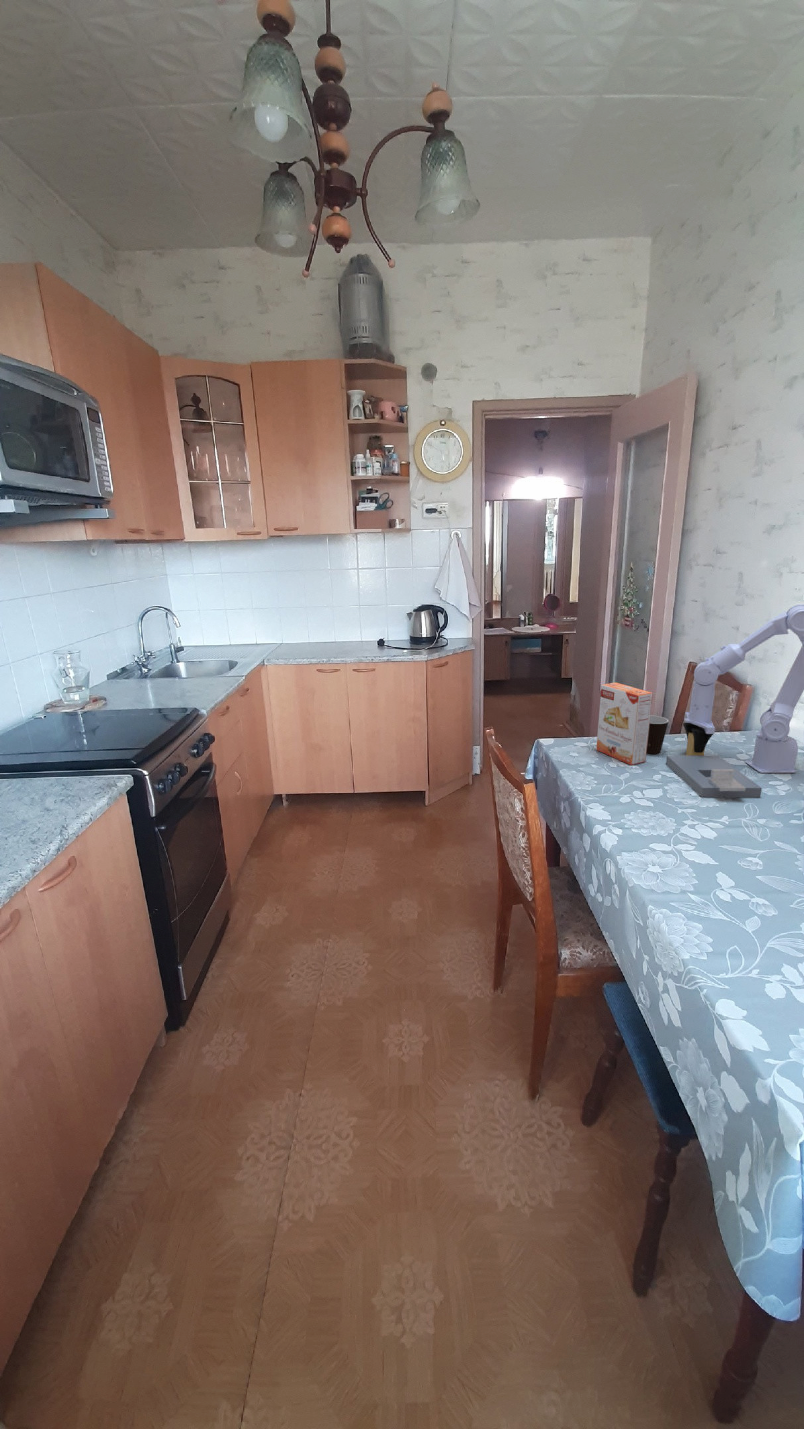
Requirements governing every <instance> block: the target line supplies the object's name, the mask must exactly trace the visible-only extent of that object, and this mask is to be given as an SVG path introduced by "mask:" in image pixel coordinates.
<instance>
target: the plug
mask: <svg viewBox="0 0 804 1429" xmlns="http://www.w3.org/2000/svg"><path fill="white" fill-rule="evenodd" d="M705 751H706V750H705V749H704V751H703V753H696V752H695V751H694V736H693V733H689V734H688V741H687V743H686V750H685V756H705Z"/></svg>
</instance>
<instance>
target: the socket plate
mask: <svg viewBox="0 0 804 1429" xmlns="http://www.w3.org/2000/svg"><path fill="white" fill-rule="evenodd" d="M665 763H666V764H665V765H667V766H668V767H669V768H670V769H671V770H672V771H673V772H674V773H675V774H676V775H677V776H678V777H679V778H681V780H682V781H683V782H685V784H687V786H689V787H690V788H691V789H692V790H693V791H694V792H695V793H696V794H698V796H700V797H701V798H761V795H762V790H763V789H762V788H763V787H762V786H760V785H758V784H757V783H756V782H754V781H753V780H751V779H750V778H749V777H747V775H745V774H744V773H742V772H741V771H740V770H738V768H735V766H733V765H731V764H730V763H729V762H728V761H727V760H725V759H723V758H722V757H721V756H719V755H704V756H686V755H666V762H665ZM712 769H733V770H734V776H733V779H735V780H736V781H737V782H739V783H740V784H741V785H742V786H744V787H745V788H746V789H745V791H719V790H718V789H717V788H715V787H714V786H713V785H712V784H711V783H710V782H708V778H710V777H711V771H712Z"/></svg>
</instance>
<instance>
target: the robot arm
mask: <svg viewBox="0 0 804 1429" xmlns="http://www.w3.org/2000/svg"><path fill="white" fill-rule="evenodd" d="M788 630H790V631H791V632H792V633H794V634H795V635H796V636H797V638H798V639H799V641H800V643H801V644H802V645H801V648H800V650H799V652H798V653H797V656H796V658H795V660H794V661H793V664H792V665H791V668H790V669H789V672H788V674H787V676H786V678H784V679H785V680H784V681H783V683H782V686H781V687H780V690H779V691H778V694H777V695H776V698H774V700H773V702H772V703H771V705H770V707H769V708H768V709H767V710H766V711H764V712H763V713H762V714H761V716H760V718H759V724H760V725H761V727H760V730H759V731H758V732H757V733H756V736H755V742H754V749H753V754H752V760H745V762H744V763H746V764H747V765H748V766H750V767H751V768H752V769H754V770H756V772H758V773H761V774H763V773H764V774H765V773H766V774H767V773H769V774H772V773H773V774H775V773H776V774H777V773H778V774H779V773H780V774H781V773H783V774H785V773H787V774H789V773H792V774H795V773H796V772H797V771H796V770H795V768H796V767H795V766H796V762H797V757H798V752H799V745H798V742H797V740H796V738H794V737H792V736H788V735H789V734H790V728H791V727H790V723H791V722H792V721H791V720H792V718H793V716H794V712H795V709H796V706H797V704H798V702H799V701H800V699H801V697H802V695H803V692H804V604H796V605H793V606H792V607H790V608H789V609H788V610H787V611H783V612H781V613H779V614H778V615H776V616H775V617H772V618H771V619H770V620H769V621H767V622H766V623H764V624H763V625H762V626H760V627H759V628H758V629H756V630H755V631H753V632H752V633H751V634H749V635H748V636H747V637H744V639H743V640H742V641H740V642H738V643H729V644H727V645H726V644H723V645H722V646H720V650H719V651H717V652H716V653H714V654H713V655H712V656H710V657H709V656H707V657H706V658H705V659H704V661H702V662H700V663H698V664H697V666H696V667H695V669H694V673H693V678H694V681H693V687H692V689H691V696H690V704H689V711H685V712H684V719H683V721H684V722H683V724H682V726H683V728H684V730H685V733H686V739H687V741H688V734H689V733H693V736H694V751H695V752H696V753H703V751H704V749H705V748H706V746H707V744H708V743H709V741H710V739H711V738H712V737H713V736H714V735H715V733H716V727H715V726H714V724H713V721H712V717H713V716H712V715H713V707H714V700H715V696H716V695H715V694H716V689H715V686H716V682H717V681H718V678H719V676H720V675H724V674H726V673H727V672H729V671H730V670H732V669H734V668H735V667H736V666H737V665H739V664H741V663H742V662H744V661H745V659H746V654H747V653H748V652H750V651H752V650H753V649H756V647H758V646H760V645H761V644H764V643H765V642H766V641H768V640H769V639H771V638H772V637H774V636H777V635H778V636H781V635H789V631H788Z"/></svg>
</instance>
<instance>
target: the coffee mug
mask: <svg viewBox="0 0 804 1429" xmlns="http://www.w3.org/2000/svg"><path fill="white" fill-rule="evenodd" d="M668 725H669V719H667V718H666V717H664V716H660V715H659V716H658V715H653V714H651V715H650V724H649V733H648V742H647V752H646V755H650V756H652V755H653V756H657V755H660V754H661V752H662V748H663V745H664V744H663V743H664V740H665V737H666V733H667V728H668ZM659 753H660V754H659Z"/></svg>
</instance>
